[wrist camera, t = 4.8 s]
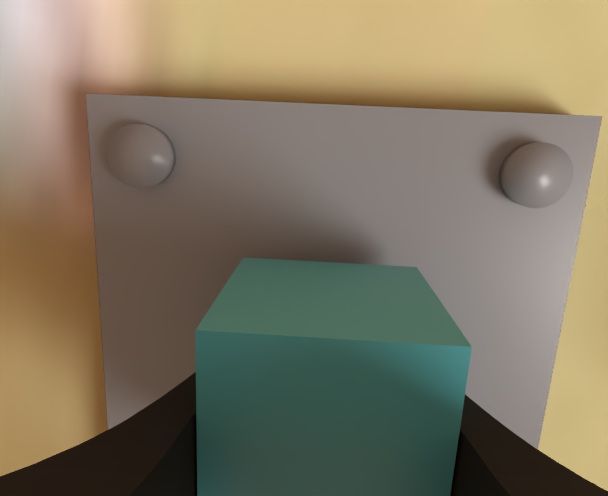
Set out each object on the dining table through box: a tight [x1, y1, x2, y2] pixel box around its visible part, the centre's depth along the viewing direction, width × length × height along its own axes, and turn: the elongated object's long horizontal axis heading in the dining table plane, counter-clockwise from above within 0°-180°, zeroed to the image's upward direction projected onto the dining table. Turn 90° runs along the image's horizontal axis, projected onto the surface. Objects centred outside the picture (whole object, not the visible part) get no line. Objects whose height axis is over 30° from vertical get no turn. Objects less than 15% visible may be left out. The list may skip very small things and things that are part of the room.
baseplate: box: [86, 93, 602, 450], centre depth 14 cm, size 14×13×2 cm
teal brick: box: [195, 257, 472, 496], centre depth 10 cm, size 6×4×4 cm
